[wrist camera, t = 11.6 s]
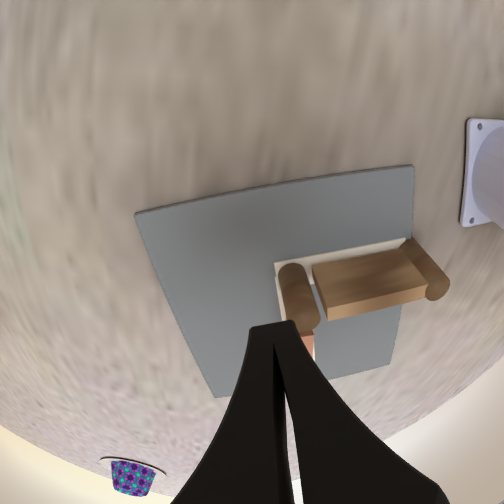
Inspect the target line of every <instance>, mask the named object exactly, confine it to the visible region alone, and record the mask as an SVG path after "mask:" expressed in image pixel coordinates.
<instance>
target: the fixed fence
mask: <svg viewBox="0 0 504 504" xmlns="http://www.w3.org/2000/svg"><path fill="white" fill-rule="evenodd" d="M312 275H313V281H314V284H315V286H316V289H317V292H318V295H319V298H320V300H321V303H322V306H323V309H324V312H325V315H326V318H327V321H332V320H336V319H341V318H345V317H350V316H354V315H359V314H363V313H367V312H371V311H375V310H379V309H383V308H387V307H391V306H395V305H399V304H403V303H407V302H410V301H414V300H418V299H421V298H425V297H426V298H427V299H428V300H430V301H435V300H438V299H440V298H441V297H442V296H444V295H445V293H446V292H447V291H448V289H449V286H450V280H449V278H448V277H447V276H446V275H445V273H444V272H443V271H442V270H441V269H440V268H439V266H438V265H437V264H436V263H435V262H434V261H433V260H432V258H431V257H430V256H429V255H428V254H427V253H426V252H425V250H424V249H423V248H422V247H421V246H420V245H419V244H418V243H417V242H416V241H415V239H414V238H412V237H411V239H407V240H405V242H403V243H402V244H401V245H400V247H399V248H398V249H395V250H390V251H386V252H381V253H376V254H371V255H366V256H361V257H356V258H351V259H346V260H341V261H336V262H331V263H325V264H320V265H315V266H312ZM278 280H279V284H280V289H281V294H282V299H283V303H284V308H285V313H286V318H287V320H290V319H291V320H293V321H295V325H296V327H297V330H298V332H299V333H304V332H308V331H311V330H313V329H314V328H316V327H317V326H318V324H319V323H320V320H321V316H320V313H319V310H318V307H317V304H316V301H315V298H314V295H313V292H312V289H311V286H310V283H309V280H308V277H307V274H306V271H305V268H304V267H303V266H302V265H301V264H298V263H288V264H286V265H284V266H283V267H281V269H280V270H279V272H278Z"/></svg>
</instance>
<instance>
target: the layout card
mask: <svg viewBox="0 0 504 504" xmlns="http://www.w3.org/2000/svg"><path fill="white" fill-rule="evenodd" d="M414 178H415V166H413V165H403V166H394V167H385V168H377V169H369V170H361V171H354V172H346V173H339V174H332V175H325V176H319V177H312V178H306V179H300V180H293V181H287V182H282V183H276V184H270V185H265V186H259V187H254V188H248V189H243V190H238V191H233V192H227V193H222V194H218V195H213V196H208V197H203V198H198V199H194V200H189V201H184V202H180V203H175V204H171V205H167V206H162V207H158V208H154V209H150V210H145V211H141V212H137V213H135V215H134V218H135V220H136V223H137V226H138V229H139V231H140V234H141V237H142V239H143V242H144V245H145V247H146V250H147V252H148V255H149V257H150V260H151V262H152V265H153V267H154V270H155V272H156V275H157V277H158V280H159V282H160V284H161V287H162V289H163V291H164V294H165V296H166V298H167V301H168V303H169V305H170V307H171V310H172V312H173V314H174V316H175V319H176V321H177V323H178V325H179V327H180V330H181V332H182V334H183V336H184V338H185V340H186V342H187V344H188V347H189V349H190V351H191V353H192V355H193V357H194V359H195V361H196V363H197V365H198V367H199V369H200V371H201V373H202V375H203V377H204V379H205V381H206V383H207V385H208V386H209V388H210V390H211V392H212V394H213V396H214V398H218V397H228V396H232V395H233V392H234V389H235V386H236V383H237V380H238V377H239V374H240V370H241V367H242V364H243V360H244V356H245V352H246V347H247V342H248V336H249V329H250V328H251V327H253V326H259V325H264V324H270V323H275V322H280V321H285V320H286V313H285V308H284V303H283V299H282V294H281V289H280V284H279V280H278V272H279V270H280V269H281V267H283V266H284V265H286V264H288V263H298V264H301V265H302V266H303V267H304V268H305V271H306V274H307V277H308V280H309V283H310V286H311V289H312V292H313V295H314V298H315V301H316V304H317V307H318V310H319V313H320V316H321V320H320V323H319V324H318V326H317V327H316V328H314V329H313V333H314V344H313V360H314V361H315V363H316V364H317V366H318V367H319V369H320V370H321V372H322V373H323V375H324V376H325V378H326V379H327V380H330V379H334V378H339V377H343V376H347V375H351V374H355V373H359V372H363V371H367V370H371V369H374V368H378V367H382V366H385V365H389V364H390V361H391V357H392V353H393V348H394V344H395V339H396V335H397V330H398V325H399V319H400V314H401V308H402V304H399V305H395V306H391V307H387V308H383V309H379V310H375V311H371V312H367V313H363V314H359V315H354V316H350V317H345V318H341V319H336V320H332V321H327V318H326V315H325V312H324V309H323V306H322V303H321V300H320V298H319V295H318V292H317V289H316V286H315V284H314V281H313V275H312V266H315V265H320V264H325V263H331V262H336V261H341V260H346V259H351V258H356V257H361V256H366V255H371V254H376V253H381V252H386V251H390V250H395V249H398V248H399V247H400V245H401V244H402V243H403V242H405V240H407V239H411V232H412V220H413V204H414Z"/></svg>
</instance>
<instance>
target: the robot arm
mask: <svg viewBox="0 0 504 504" xmlns="http://www.w3.org/2000/svg"><path fill="white" fill-rule="evenodd" d="M478 124H479V127H477V126H478ZM470 219H471V220H470ZM488 222H494V223H496V224H497V225H498V226H499V227H501V228H502V229H503V230H504V120H498V119H480V118H471V119H469V120H468V122H467V143H466V166H465V180H464V191H463V200H462V208H461V216H460V224H461V225H462V226H463V227H470V226H474V225H479V224H484V223H488ZM285 394H286V398H287V402H288V405H289V409H290V413H291V417H292V421H293V427H294V434H295V441H296V449H297V456H298V463H299V471H300V479H301V487H302V495H303V503H304V504H450V503H449V501H448V499H447V497H446V495H445V494H444V492H443V491H442V489H441V488H440V486H439V485H438V484H437V483H435V482H434V481H432V480H431V479H429V478H428V477H426V476H425V475H423V474H422V473H421V472H419V471H418V470H416V469H415V468H414V467H412V466H411V465H410V464H409V463H407V462H406V461H405V460H403V459H402V458H401V457H400V456H398V455H397V454H396V453H395V452H394V451H392V450H391V449H390V448H389V447H388V446H387V445H386V444H385V443H384V442H383V441H381V440H380V439H379V438H378V437H377V436H376V435H375V434H374V433H373V432H372V431H371V430H370V429H369V428H368V427H367V426H366V425H365V424H364V423H363V422H362V421H361V420H360V419H359V418H358V417H357V416H356V415H355V414H354V413H353V411H352V410H351V409H350V408H349V407H348V406H347V405H346V403H345V402H344V401H343V400H342V399H341V397H340V396H339V395H338V394H337V392H336V391H335V390H334V388H333V387H332V386H331V384H330V383H329V382H328V380H327V379H326V378H325V376H324V375H323V373H322V372H321V370H320V369H319V367H318V366H317V364H316V363H315V361H314V360H313V358H312V357H311V355H310V353H309V352H308V350H307V348H306V346H305V344H304V343H303V341H302V339H301V337H300V334H299V332H298V330H297V327H296V325H295V321H293V320H291V319H290V320H285V321H280V322H275V323H270V324H264V325H259V326H253V327H251V328H250V329H249V336H248V342H247V347H246V352H245V356H244V360H243V364H242V367H241V370H240V374H239V377H238V380H237V383H236V386H235V389H234V392H233V395H232V397H231V400H230V402H229V405H228V408H227V410H226V413H225V415H224V417H223V419H222V422H221V424H220V426H219V428H218V430H217V432H216V434H215V436H214V438H213V440H212V442H211V444H210V445H209V447H208V449H207V451H206V452H205V454H204V456H203V458H202V459H201V461H200V463H199V464H198V466H197V468H196V469H195V471H194V472H193V474H192V475H191V476H190V478H189V479H188V481H187V482H186V483H185V485H184V486H183V488H182V489H181V490H180V492H179V493H178V495H177V496H176V497H175V498H174V500H173V501H172V502H171V503H170V504H295V503H294V496H293V489H292V482H291V475H290V468H289V461H288V451H287V430H286V409H285ZM499 504H504V501H502V502H501V503H499Z"/></svg>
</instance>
